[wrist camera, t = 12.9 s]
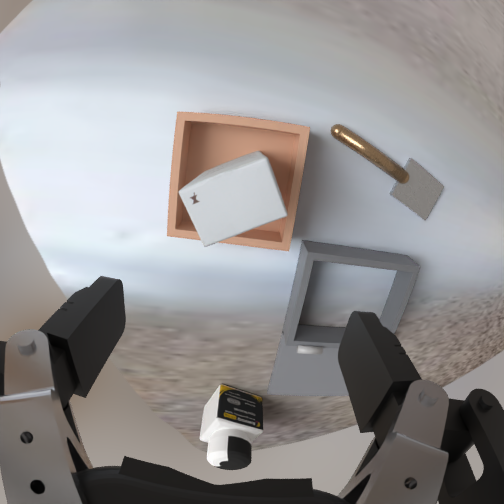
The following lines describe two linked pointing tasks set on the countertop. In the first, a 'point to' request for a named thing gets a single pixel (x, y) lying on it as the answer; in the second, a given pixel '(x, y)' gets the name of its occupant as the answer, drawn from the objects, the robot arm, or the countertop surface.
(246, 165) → the skincare box
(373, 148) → the hand shovel
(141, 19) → the countertop surface
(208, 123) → the bin
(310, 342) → the bin
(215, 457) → the medicine bottle
